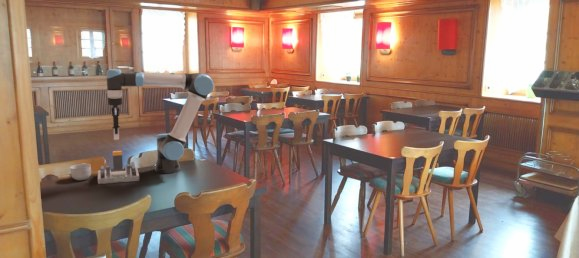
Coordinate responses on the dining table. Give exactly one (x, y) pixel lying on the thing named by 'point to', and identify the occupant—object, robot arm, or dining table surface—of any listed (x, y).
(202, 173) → the dining table surface
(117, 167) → the lever
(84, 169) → the teacup
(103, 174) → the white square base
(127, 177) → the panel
